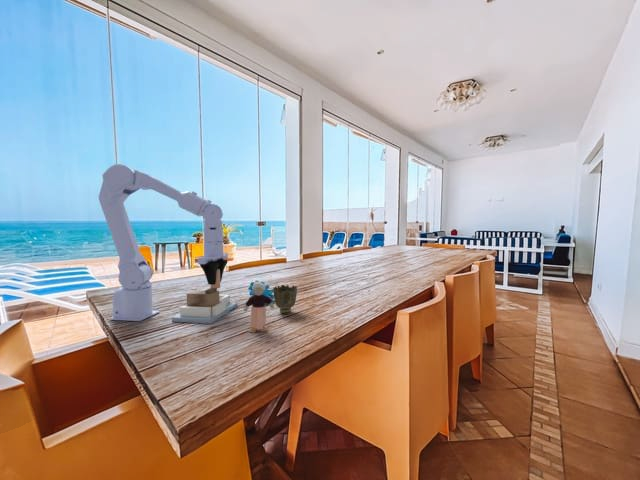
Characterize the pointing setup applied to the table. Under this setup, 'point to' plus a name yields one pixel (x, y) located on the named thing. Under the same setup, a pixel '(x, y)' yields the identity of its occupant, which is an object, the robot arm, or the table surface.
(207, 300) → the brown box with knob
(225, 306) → the jig
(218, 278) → the tail peg
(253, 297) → the grandmother figurine
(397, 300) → the table surface
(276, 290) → the cup
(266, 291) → the blue white lumpy piece
